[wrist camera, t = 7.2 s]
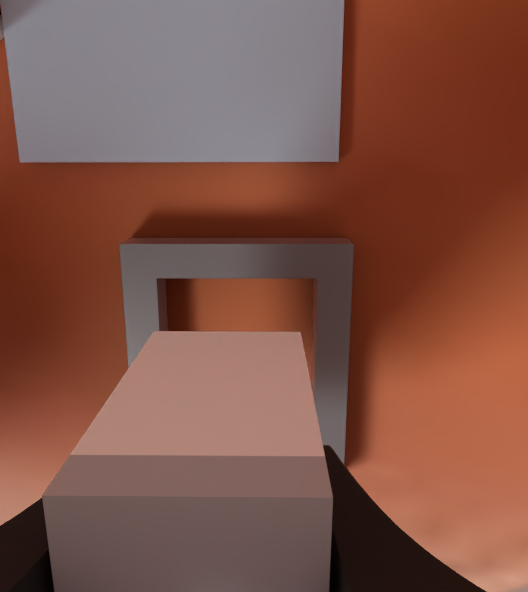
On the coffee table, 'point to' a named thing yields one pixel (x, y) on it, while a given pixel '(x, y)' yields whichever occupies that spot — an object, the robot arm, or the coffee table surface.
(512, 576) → the coffee table surface
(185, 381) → the plug
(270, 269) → the holder
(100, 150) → the slate board
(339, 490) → the robot arm
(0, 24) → the ink cartridge box
